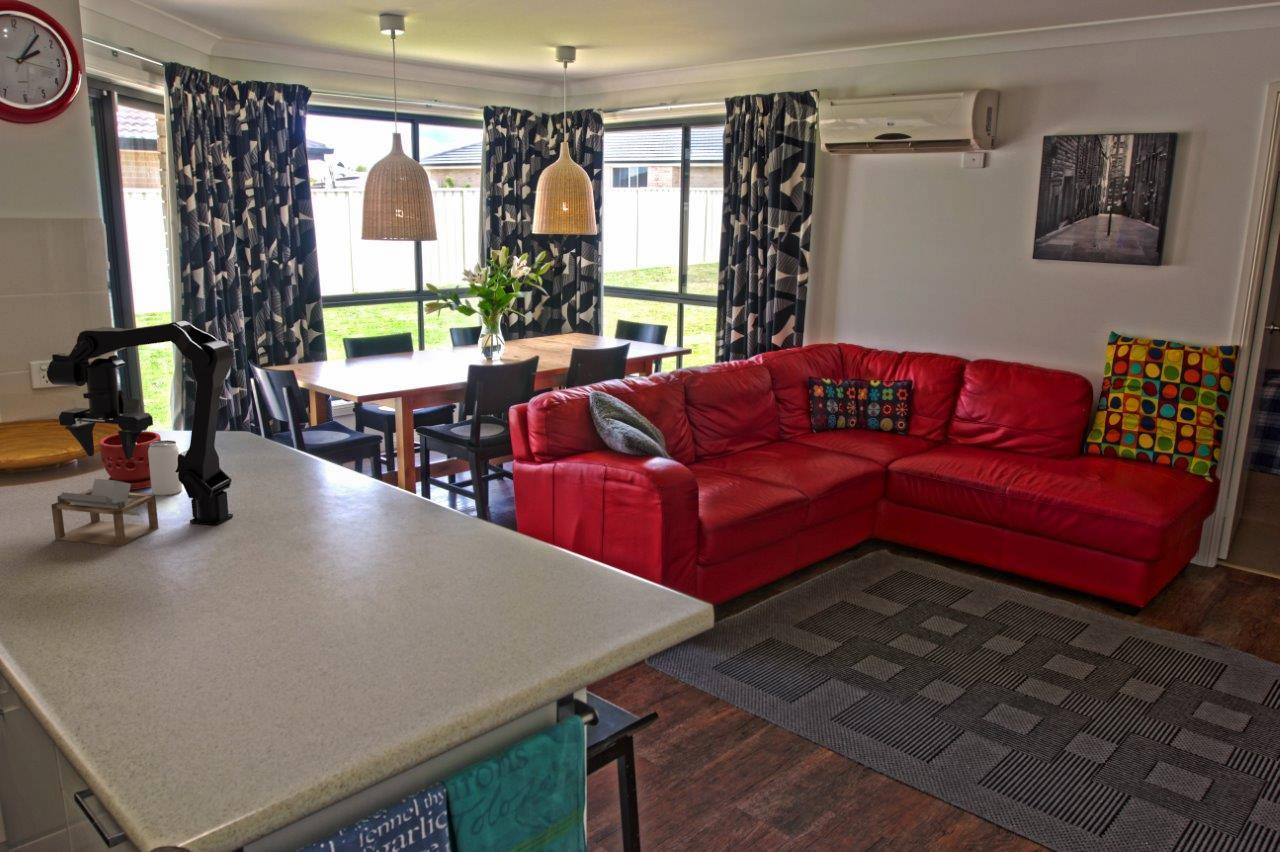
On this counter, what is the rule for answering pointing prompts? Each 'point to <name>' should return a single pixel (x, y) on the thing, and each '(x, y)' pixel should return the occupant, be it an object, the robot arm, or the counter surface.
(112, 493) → the stone
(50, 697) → the counter surface
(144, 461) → the plant pot
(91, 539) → the frame
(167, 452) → the can
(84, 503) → the trapdoor
